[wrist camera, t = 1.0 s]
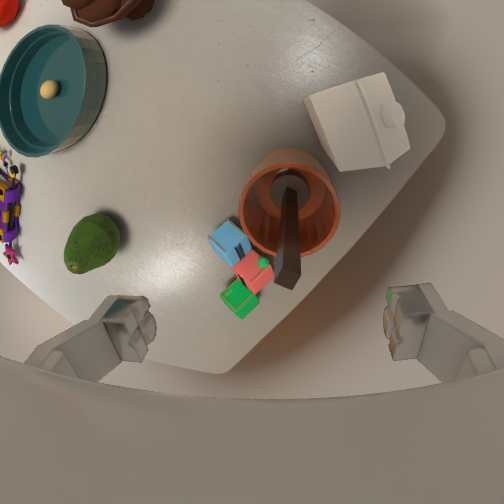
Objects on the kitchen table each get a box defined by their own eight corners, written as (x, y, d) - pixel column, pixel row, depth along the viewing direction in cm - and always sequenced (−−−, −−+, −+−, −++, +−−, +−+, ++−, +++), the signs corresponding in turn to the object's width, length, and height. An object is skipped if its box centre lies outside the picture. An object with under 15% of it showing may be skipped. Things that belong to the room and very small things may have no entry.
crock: (269, 135, 39) (262, 145, 29) (341, 168, 40) (357, 191, 30) (239, 203, 44) (224, 235, 34) (307, 233, 45) (311, 272, 35)
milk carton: (322, 148, 39) (347, 183, 22) (301, 98, 36) (312, 93, 19) (370, 131, 37) (429, 156, 20) (351, 82, 34) (400, 67, 17)
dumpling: (51, 78, 36) (39, 78, 33) (64, 81, 36) (51, 81, 34) (47, 96, 38) (34, 97, 35) (59, 99, 38) (46, 101, 35)
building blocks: (244, 256, 53) (227, 216, 42) (278, 287, 49) (269, 251, 39) (210, 288, 51) (184, 255, 41) (243, 321, 48) (223, 295, 37)
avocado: (98, 250, 51) (60, 286, 40) (86, 209, 47) (42, 239, 36) (135, 247, 49) (99, 286, 39) (123, 203, 46) (81, 234, 35)
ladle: (280, 163, 40) (268, 232, 19) (314, 179, 40) (338, 264, 20) (265, 195, 42) (239, 292, 22) (298, 210, 42) (303, 318, 22)
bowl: (37, 26, 32) (14, 24, 27) (127, 36, 34) (105, 30, 28) (11, 134, 42) (-11, 140, 36) (89, 164, 43) (67, 173, 38)
